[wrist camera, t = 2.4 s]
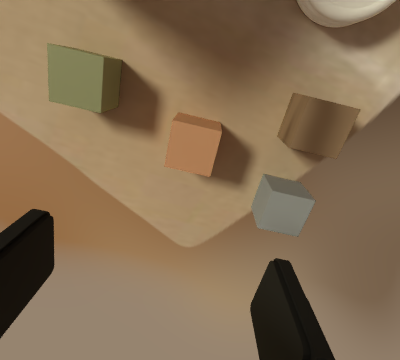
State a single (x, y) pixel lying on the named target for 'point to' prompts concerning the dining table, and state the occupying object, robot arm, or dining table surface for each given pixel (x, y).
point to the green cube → (83, 78)
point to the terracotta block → (193, 144)
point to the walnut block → (316, 125)
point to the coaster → (342, 10)
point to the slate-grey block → (281, 205)
